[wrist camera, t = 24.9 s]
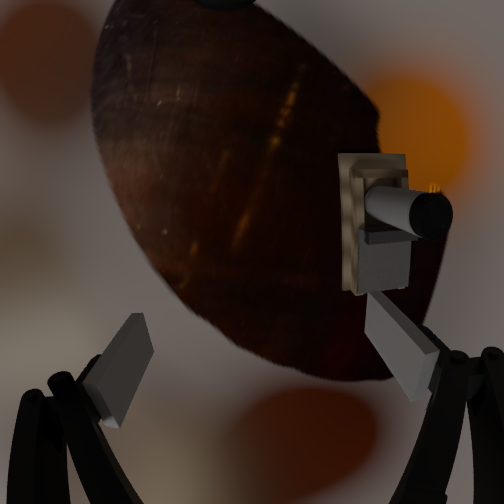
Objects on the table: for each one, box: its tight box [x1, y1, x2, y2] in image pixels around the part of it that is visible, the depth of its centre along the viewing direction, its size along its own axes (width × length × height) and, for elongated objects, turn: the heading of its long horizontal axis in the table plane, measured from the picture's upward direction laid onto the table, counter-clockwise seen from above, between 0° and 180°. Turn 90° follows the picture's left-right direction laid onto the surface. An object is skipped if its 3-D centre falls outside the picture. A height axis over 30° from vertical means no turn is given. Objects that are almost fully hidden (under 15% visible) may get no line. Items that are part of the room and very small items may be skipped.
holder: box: [338, 153, 409, 296], centre depth 50 cm, size 26×14×4 cm, turn 5°
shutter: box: [357, 226, 418, 294], centre depth 47 cm, size 12×11×4 cm
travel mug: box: [364, 185, 453, 241], centre depth 40 cm, size 6×7×20 cm
